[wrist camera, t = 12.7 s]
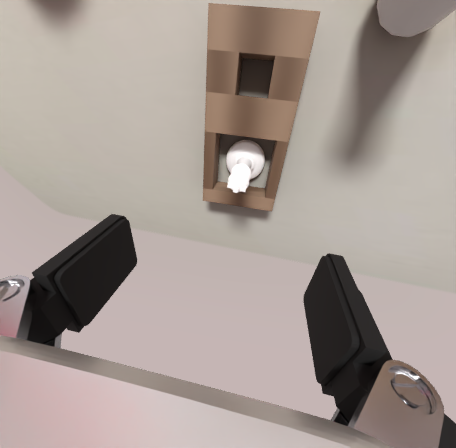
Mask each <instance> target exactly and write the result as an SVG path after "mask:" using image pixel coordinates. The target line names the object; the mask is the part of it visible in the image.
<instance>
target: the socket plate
mask: <svg viewBox="0 0 456 448" xmlns="http://www.w3.org/2000/svg"><path fill="white" fill-rule="evenodd" d="M319 16H320V11H307V10H294V9H280V8H267V7H254V6H240V5H227V4H213V3H209V8H208V42H207V76H206V111H205V145H204V179H203V201H210V202H216V203H223V204H229V205H235V206H242V207H248V208H254V209H261V210H267V211H272V209H273V205H274V201H275V196H276V192H277V188H278V184H279V180H280V176H281V172H282V168H283V164H284V159H285V155H286V151H287V147H288V143H289V139H290V135H291V131H292V127H293V122H294V118H295V114H296V110H297V106H298V102H299V98H300V94H301V90H302V85H303V81H304V77H305V73H306V69H307V65H308V61H309V57H310V53H311V48H312V44H313V40H314V36H315V32H316V28H317V24H318V20H319ZM242 58H247V59H258V60H268V61H274V64H273V70H272V76H271V82H270V88H269V94H268V99H267V98H258V97H249V96H240V95H239V86H240V76H241V67H242ZM221 133H222V134H229V135H237V136H245V137H253V138H260V139H268V140H275V143H274V148H273V153H272V158H271V162H270V167H269V172H268V177H267V182H266V187H265V188H258V187H251V186H248V187H247V189H246V191H245V192H238V193H235V192H233V190H232V189H231V188H227V185H228V183H225V182H218V181H217V179H218V165H219V150H220V135H221Z"/></svg>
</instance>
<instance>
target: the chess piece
mask: <svg viewBox="0 0 456 448" xmlns="http://www.w3.org/2000/svg"><path fill="white" fill-rule="evenodd" d="M226 164H227V168H228V170H229V172H230V173H231V175H230V176H229V178H228V185H227V188H231V189H232V190H233V192H235V193H238V192H245V191H246V189H247V187H248V185H249V180H250V179H253V178H255V177H256V176H258V175H259V174H260V172H261V171H262V169H263V167H264V164H265V155H264V152H263V150H262V148H261V147H260V146H259V145H258V144H257V143H255V142H254V141H251V140H241V141H238V142H236V143H235V144H233V145H232V146H231V147H230V149H229V151H228V153H227V157H226Z"/></svg>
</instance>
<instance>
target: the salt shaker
mask: <svg viewBox="0 0 456 448" xmlns="http://www.w3.org/2000/svg"><path fill="white" fill-rule="evenodd" d="M455 9H456V0H378V2H377V11H378V15H379V23H380V25H381V26H382V27H383V28H384V29H385V30H387V31H388V32H389V33H390V34H391V35H395V36H404V37H412V36H414V35H417V34H419V33H421V32H424V31H426V30H428V29H431V28H432V27H434V26H435V25H436V24H437V23H439V22H440V21H441V20H443V19H444V18H445V17H446V16H448V15H449V14H450V13H452V12H453V11H454V10H455Z"/></svg>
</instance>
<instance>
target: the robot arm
mask: <svg viewBox="0 0 456 448" xmlns="http://www.w3.org/2000/svg"><path fill="white" fill-rule="evenodd" d="M136 264H137V257H136V252H135V248H134V242H133V237H132V233H131V228H130V223H129V221H128V220H127V219H126V217H124V216H120V215H115V214H112V215H110V216H108V217H107V218H106V219H104V220H103V221H102V222H100V223H99V224H97V225H96V226H95V227H93V228H92V229H91V230H89V231H88V232H87V233H85V234H84V235H83V236H81V237H80V238H78V239H77V240H76V241H74V242H73V243H72V244H70V245H69V246H68V247H66V248H65V249H63V250H62V251H61V252H59V253H58V254H57V255H55V256H54V257H53V258H51V259H50V260H48V261H47V262H46V263H44V264H43V265H42V266H40V267H39V268H38V269H36V270H35V271H34V272H32V274H33V276H34V278H33V279H32V280H30V279H29V278H27V277H25V276H17V275H16V276H10V277H6V278H3V279H0V448H456V424H455V423H454V422H453V421H452V420H451V419H450V418H449V417H448V416H446V415H445V414H444V406H443V404H442V401H441V398H440V396H439V394H438V393H437V391H436V390H435V388H434V387H433V386H432V384H431V383H430V382H429V381H428V380H427V379H426V378H425V377H424V376H423V375H422V374H421V373H420V372H419V371H418V370H416V369H415V368H413V367H411V366H410V365H408V364H406V363H404V362H401V361H398V360H392V358H391V355H390V353H389V351H388V349H387V347H386V345H385V343H384V340H383V338H382V336H381V334H380V332H379V330H378V327H377V325H376V323H375V321H374V319H373V317H372V314H371V313H370V310H369V308H368V306H367V304H366V302H365V299H364V297H363V295H362V293H361V292H360V291H359V290H358V288H357V286H356V284H355V282H354V279H353V277H352V275H351V273H350V271H349V268H348V266H347V264H346V262H345V260H344V258H343V256H339V255H334V254H327V255H326V256H322V258H321V260H320V262H319V264H318V266H317V268H316V270H315V272H314V275H313V277H312V279H311V281H310V283H309V285H308V288H307V290H306V292H305V294H304V307H305V313H306V319H307V325H308V331H309V337H310V343H311V350H312V356H313V362H314V367H315V374H316V379H317V382H318V383H320V384H321V386H322V391H323V394H327V395H331V396H334V398H335V403H336V406H337V410H336V412H335V414H334V415H333V417H332V419H331V421H330V420H327V419H324V418H320V417H317V416H313V415H310V414H306V413H303V412H299V411H296V410H292V409H289V408H285V407H282V406H279V405H275V404H271V403H267V402H264V401H260V400H256V399H252V398H249V397H245V396H241V395H237V394H234V393H230V392H226V391H222V390H218V389H215V388H211V387H207V386H203V385H199V384H196V383H192V382H188V381H184V380H181V379H176V378H173V377H169V376H165V375H162V374H158V373H154V372H150V371H146V370H142V369H138V368H134V367H131V366H127V365H123V364H119V363H115V362H111V361H107V360H104V359H99V358H96V357H92V356H88V355H84V354H80V353H76V352H72V351H68V350H64V349H61V348H60V347H61V335H62V332H63V331H64V330H65V329H66V328H67V329H68V330H71V331H75V332H80V331H81V329H82V328H83V327H84V326H86V325H88V324H89V323H90V322H91V321H92V320H93V319H94V317H95V316H96V315H97V314H98V312H99V311H100V310H101V309H102V307H103V306H104V305H105V303H106V302H107V301H108V300H109V299H110V297H111V296H112V295H113V293H114V292H115V291H116V290H117V289H118V287H119V286H120V285H121V283H122V282H123V281H124V280H125V278H126V277H127V276H128V275H129V273H130V272H131V271H132V270H133V268H134V267H135V266H136Z"/></svg>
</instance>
